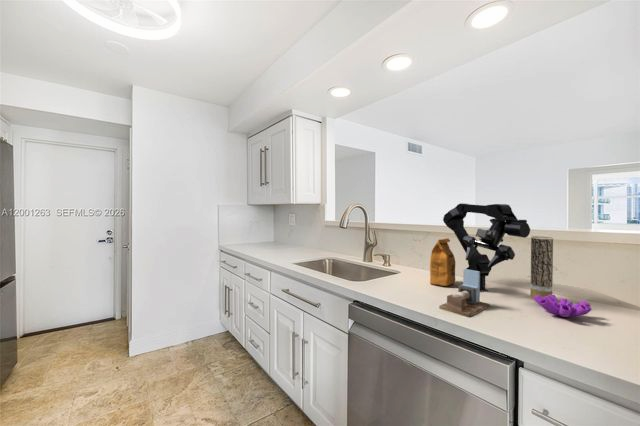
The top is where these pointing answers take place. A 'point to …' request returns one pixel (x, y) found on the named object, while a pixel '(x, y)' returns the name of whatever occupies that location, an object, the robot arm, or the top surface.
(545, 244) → the paper tube
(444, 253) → the coffee package
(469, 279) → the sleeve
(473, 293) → the dark grey block
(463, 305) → the pipe stand
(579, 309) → the purple coral
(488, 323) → the top surface
